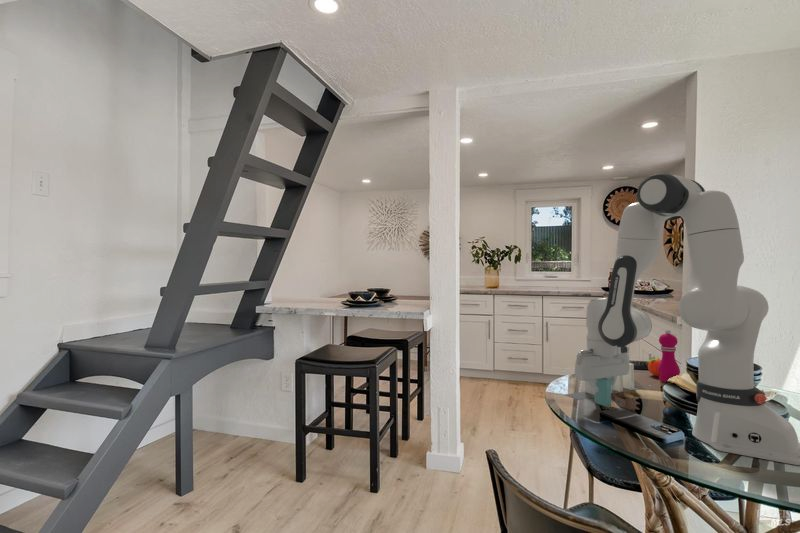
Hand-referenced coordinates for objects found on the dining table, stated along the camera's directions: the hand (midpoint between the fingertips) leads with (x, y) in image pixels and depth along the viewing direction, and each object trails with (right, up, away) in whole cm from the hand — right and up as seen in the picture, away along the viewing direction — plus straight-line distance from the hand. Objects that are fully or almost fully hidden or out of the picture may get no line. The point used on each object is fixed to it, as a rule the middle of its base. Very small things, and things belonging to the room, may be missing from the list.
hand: (602, 391), depth 132 cm
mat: (+6, -5, +13) cm, 16 cm away
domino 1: (+2, -4, +12) cm, 12 cm away
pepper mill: (+38, -5, +27) cm, 47 cm away
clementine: (+39, -5, +35) cm, 53 cm away
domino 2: (0, -5, 0) cm, 5 cm away
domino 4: (+17, -4, +18) cm, 25 cm away
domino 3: (+12, -4, +16) cm, 20 cm away
